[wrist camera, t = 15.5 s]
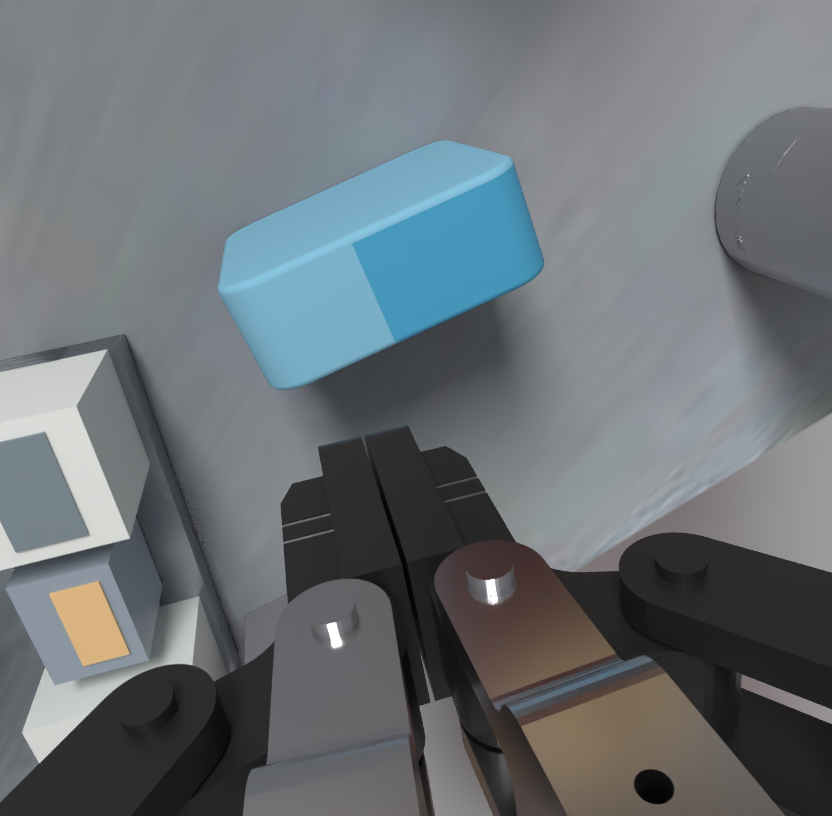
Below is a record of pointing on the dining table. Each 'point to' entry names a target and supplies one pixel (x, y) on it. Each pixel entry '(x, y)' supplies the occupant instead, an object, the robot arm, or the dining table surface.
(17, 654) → the dining table surface
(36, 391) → the mounted modules
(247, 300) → the data package
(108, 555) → the block
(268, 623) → the block
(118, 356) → the rail
